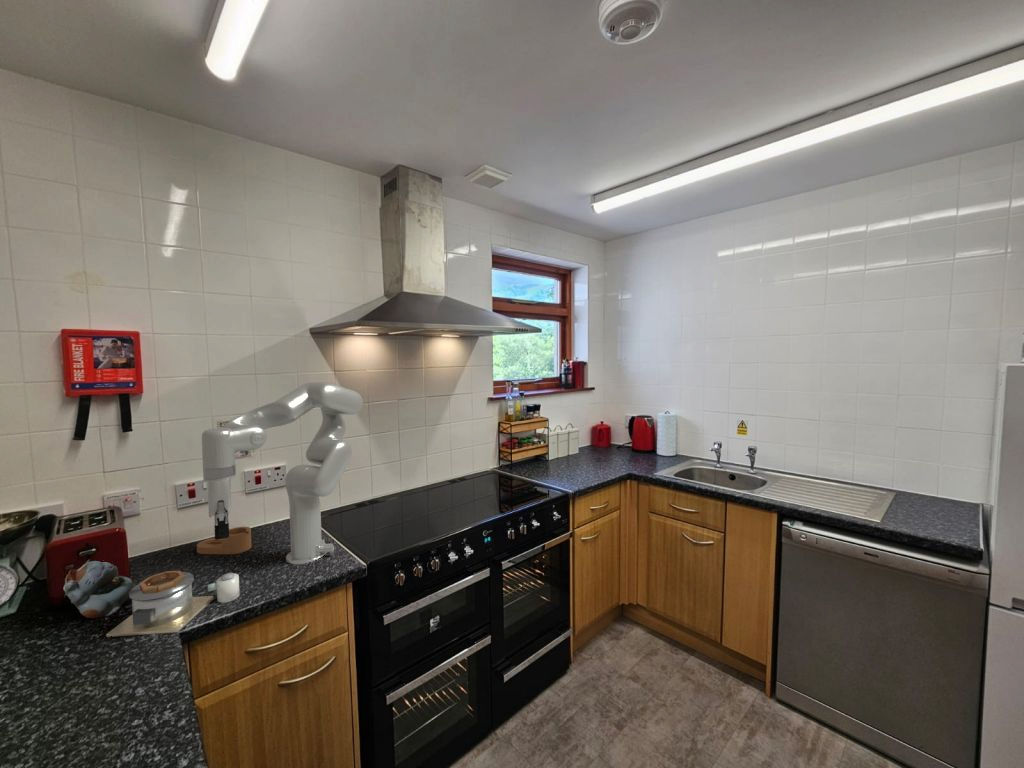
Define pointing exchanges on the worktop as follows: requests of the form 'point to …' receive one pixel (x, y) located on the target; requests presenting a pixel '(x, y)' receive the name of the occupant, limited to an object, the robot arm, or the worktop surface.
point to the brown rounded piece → (227, 543)
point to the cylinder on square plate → (161, 605)
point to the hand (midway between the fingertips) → (221, 532)
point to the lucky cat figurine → (97, 588)
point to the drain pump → (226, 587)
